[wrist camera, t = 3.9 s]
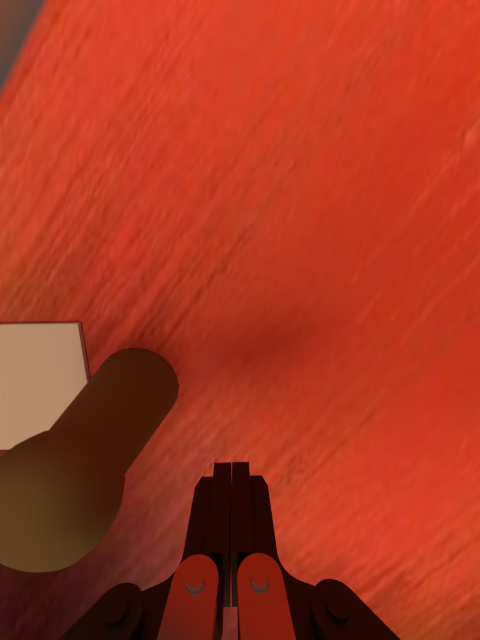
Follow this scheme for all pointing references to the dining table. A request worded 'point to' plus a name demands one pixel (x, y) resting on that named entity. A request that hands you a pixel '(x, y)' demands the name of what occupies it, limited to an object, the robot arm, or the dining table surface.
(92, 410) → the cork
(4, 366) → the mat
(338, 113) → the dining table surface
